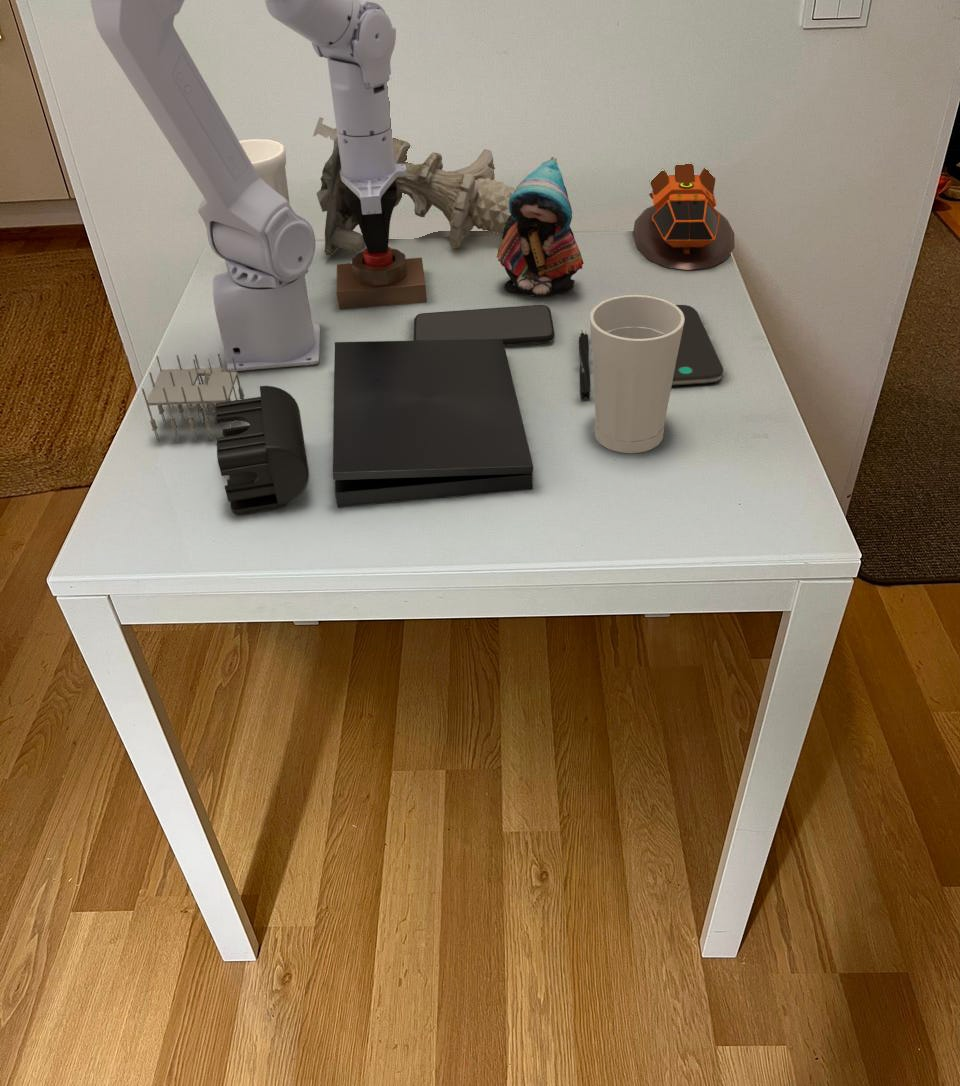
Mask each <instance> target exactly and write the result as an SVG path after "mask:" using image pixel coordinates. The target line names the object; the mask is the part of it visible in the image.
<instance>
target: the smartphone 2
mask: <svg viewBox="0 0 960 1086" xmlns="http://www.w3.org/2000/svg"><path fill="white" fill-rule="evenodd" d="M675 305H676V306H677V307H678V308H679V309H680V310H681V311H682V312H683V314H684V318H685V321H684V326H683V331H682V336H681V340H680V345H679V350H678V355H677V360H676V365H675V370H674V375H673V381H672V386H673V387H675V386H691V385H705V384H713V383H716V382H719V381H720V380H721V379H722V378H723V374H724V367H723V365H722V363H721V360H720V358H719V356H718V354H717V352H716V350H715V347H714V345H713V343H712V341H711V339H710V337H709V335H708V333H707V330H706V328H705V325H704V324H703V321H702V319H701V317H700V315H699V313H698V311H697V310H696V308H694V307H693V306H691V305H687V304H675ZM672 386H671V387H672Z"/></svg>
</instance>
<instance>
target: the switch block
mask: <svg viewBox="0 0 960 1086" xmlns="http://www.w3.org/2000/svg"><path fill="white" fill-rule="evenodd" d="M391 249H392V257H393V263H392V264H389V265H387V266H382V267H371V266H366V265H365V261H364V250H363V251H362V250H361V251H360V252H357V254H355V255H354V256H352V258H351V262H350V263H349V262H348V263H338V264H336V299H337V305H338V310H348V309H359V308H360V309H361V308H371V307H372V308H373V307H383V306H397V305H407V304H408V305H409V304H419V303H420V304H421V303H427V302H428V298H427V285H426V278H425V270H424V263H423V257H412V258H411V257H409V258H406V254H405V253H404V252H402V251H400V250H399V249H397V248H391Z"/></svg>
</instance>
